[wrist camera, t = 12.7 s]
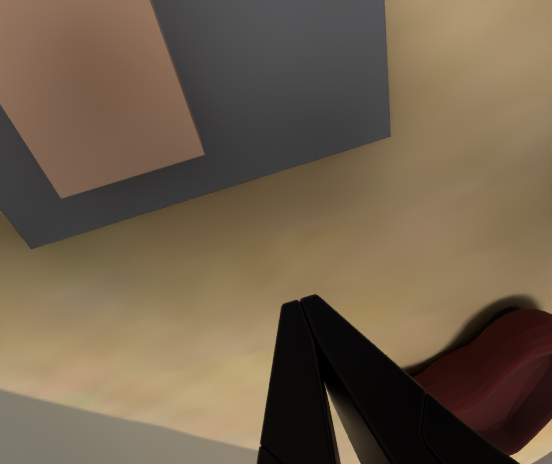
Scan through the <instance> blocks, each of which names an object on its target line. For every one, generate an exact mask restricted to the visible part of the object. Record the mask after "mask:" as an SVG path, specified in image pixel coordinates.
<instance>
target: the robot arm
mask: <svg viewBox="0 0 552 464" xmlns="http://www.w3.org/2000/svg"><path fill="white" fill-rule="evenodd" d="M325 386H326V388H325ZM326 389H327V391H328V394H329V396H330V398H331V401H332V403H333V405H334V407H335V409H336V412H337V414H338V416H339V418H340V420H341V422H342V424H343V427H344V429H345V431H346V433H347V435H348V437H349V439H350V442H351V444H352V446H353V448H354V450H355V452H356V455H357V457H358V459H359V461H360V463H361V464H520V463H518V462H517V461H516V460H514V459H513V458H511V457H510V456H509V455H507V454H506V453H504V452H503V451H502V450H500V449H499V448H497V447H496V446H495V445H493V444H492V443H491V442H489V441H488V440H487V439H485V438H484V437H483V436H481V435H480V434H478V433H477V432H476V431H474V430H473V429H472V428H470V427H469V426H468V425H467V424H465V423H464V422H463V421H462V420H460V419H459V418H458V417H457V416H456V415H454V414H453V413H452V412H451V411H450V410H448V409H447V408H446V407H445V406H444V405H443V404H441V403H440V402H439V401H438V400H437V399H436V398H435V397H433V396H432V395H431V394H430V393H427V394H426V390H425V389H424V388H423V387H422V386H421V385H420V384H418V383H417V382H416V381H415V380H414V379H413V378H412V377H410V376H409V375H408V374H407V373H406V372H405V371H404V370H402V369H401V368H400V367H399V366H398V365H397V364H396V363H395V362H393V361H392V360H391V359H390V358H389V357H388V356H387V355H385V354H384V353H383V352H382V351H381V350H380V349H379V348H377V347H376V346H375V345H374V344H373V343H372V342H371V341H370V340H368V339H367V338H366V337H365V336H364V335H363V334H362V333H360V332H359V331H358V330H357V329H356V328H355V327H354V326H352V325H351V324H350V323H349V322H348V321H347V320H346V319H345V318H343V317H342V316H341V315H340V314H339V313H338V312H337V311H335V310H334V309H333V308H332V307H331V306H330V305H329V304H327V303H326V302H325V301H324V300H323V299H322V298H321V297H319V296H318V295H316V294H314V295H310V296H307V297H304V298H301V299H300V301H299V300H294V301H291V302H287V303H284V304H283V305H282V306H281V312H280V318H279V324H278V331H277V337H276V344H275V350H274V356H273V363H272V369H271V376H270V382H269V389H268V395H267V401H266V408H265V414H264V421H263V427H262V433H261V440H260V445H261V446H260V447H259V451H258V458H257V464H341V462H340V457H339V452H338V447H337V442H336V436H335V431H334V426H333V421H332V416H331V411H330V406H329V401H328V396H327V392H326Z"/></svg>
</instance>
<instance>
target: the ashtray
mask: <svg viewBox="0 0 552 464" xmlns="http://www.w3.org/2000/svg"><path fill="white" fill-rule="evenodd" d="M413 379H414V380H415V381H416V382H417V383H418V384H420V385H421V386H422V387H423V388H424V389H425V390H426V394H427V393H430V394H431V395H432V396H433V397H435V398H436V399H437V400H438V401H439V402H440V403H441V404H443V405H444V406H445V407H446V408H447V409H448V410H450V411H451V412H452V413H453V414H454V415H456V416H457V417H458V418H459V419H460V420H462V421H463V422H464V423H465V424H467V425H468V426H469V427H470V428H472V429H473V430H474V431H476V432H477V433H478V434H480V435H481V436H483V437H484V438H485V439H487V440H488V441H489V442H491V443H492V444H493V445H495V446H496V447H497V448H499V449H500V450H502V451H503V452H504V453H506V454H507V455H509V456H510V455H513V454H515V453H517V452H518V451H520V450H521V449H522V448H523V447H524V446H525V445H527V444H528V443H529V442H530V441H531V440H532V439H533V438H534V437H535V436H536V435H537V434H538V433H539V432H540V431H541V430H542V429H543V428H544V427H545V426H546V424H547V423H548V422H549V421H550V420H551V419H552V314H550V313H547V312H545V311H541V310H537V309H521V308H520V307H517V306H515V307H509V308H506V309H504V310H502V311H500V312H499V313H497V314H496V315H495V316H494V317H493V318H492V319H491V320H490V322H489V324H488V327H487V328H486V329H485V330H484V331H483V332H482V333H481V334H480V335H479V336H478V337H477V338H476V339H475V340H474V341H472V342H471V343H469V344H468V345H465V346H463V347H461V348H459V349H456V350H454V351H452V352H449V353H447V354H445V355H444V356H442V357H440V358H439V359H437V360H436V361H435V362H433V363H432V364H431V365H430V366H428V367H427V368H426V369H425V370H424V371H422V372H421V373H420V374H419V375H417V376H415V377H413Z"/></svg>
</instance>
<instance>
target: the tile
mask: <svg viewBox="0 0 552 464" xmlns="http://www.w3.org/2000/svg"><path fill="white" fill-rule="evenodd" d="M0 104H1V106H2V108H3V109H4V111H5V112H6V114H7V115H8V117H9V118H10V120H11V122H12V123H13V125H14V126H15V128H16V129H17V131H18V132H19V134H20V136H21V137H22V139H23V140H24V142H25V143H26V145H27V146H28V148H29V150H30V151H31V153H32V154H33V156H34V157H35V159H36V160H37V162H38V163H39V165H40V167H41V168H42V170H43V171H44V173H45V174H46V176H47V177H48V179H49V181H50V182H51V184H52V185H53V187H54V188H55V190H56V191H57V193H58V195H59V196H60V198H61V199H62V198H65V197H68V196H72V195H75V194H78V193H81V192H85V191H88V190H91V189H94V188H98V187H101V186H104V185H107V184H111V183H114V182H117V181H121V180H124V179H127V178H130V177H134V176H137V175H140V174H143V173H147V172H150V171H153V170H156V169H160V168H163V167H166V166H170V165H173V164H176V163H179V162H183V161H186V160H189V159H192V158H196V157H199V156H202V155H205V154H204V149H203V145H202V140H201V137H200V134H199V132H198V129H197V126H196V123H195V120H194V117H193V115H192V112H191V109H190V106H189V103H188V100H187V98H186V95H185V92H184V89H183V86H182V83H181V81H180V78H179V75H178V72H177V69H176V66H175V64H174V61H173V58H172V55H171V52H170V50H169V47H168V44H167V41H166V38H165V35H164V33H163V30H162V27H161V24H160V21H159V18H158V16H157V13H156V10H155V7H154V4H153V1H152V0H0Z"/></svg>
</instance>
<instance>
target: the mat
mask: <svg viewBox="0 0 552 464" xmlns="http://www.w3.org/2000/svg"><path fill="white" fill-rule="evenodd" d="M152 1H153V4H154V7H155V10H156V13H157V16H158V18H159V21H160V24H161V27H162V30H163V33H164V35H165V38H166V41H167V44H168V47H169V50H170V52H171V55H172V58H173V61H174V64H175V66H176V69H177V72H178V75H179V78H180V81H181V83H182V86H183V89H184V92H185V95H186V98H187V100H188V103H189V106H190V109H191V112H192V115H193V117H194V120H195V123H196V126H197V129H198V132H199V134H200V137H201V140H202V145H203V149H204V154H205V155H202V156H199V157H196V158H192V159H189V160H186V161H183V162H179V163H176V164H173V165H170V166H166V167H163V168H160V169H156V170H153V171H150V172H147V173H143V174H140V175H137V176H134V177H130V178H127V179H124V180H121V181H117V182H114V183H111V184H107V185H104V186H101V187H98V188H94V189H91V190H88V191H85V192H81V193H78V194H75V195H72V196H68V197H65V198H62V199H61V198H60V196H59V195H58V193H57V191H56V190H55V188H54V187H53V185H52V184H51V182H50V181H49V179H48V177H47V176H46V174H45V173H44V171H43V170H42V168H41V167H40V165H39V163H38V162H37V160H36V159H35V157H34V156H33V154H32V153H31V151H30V150H29V148H28V146H27V145H26V143H25V142H24V140H23V139H22V137H21V136H20V134H19V132H18V131H17V129H16V128H15V126H14V125H13V123H12V122H11V120H10V118H9V117H8V115H7V114H6V112H5V111H4V109H3V108H2V106H1V104H0V209H1V211H2V212H3V213H4V215H5V216H6V217H7V218H8V220H9V221H10V222H11V224H12V225H13V226H14V228H15V229H16V230H17V231H18V233H19V234H20V235H21V237H22V238H23V239H24V240H25V242H26V243H27V244H28V246H29V247H30V248H31V249H33V248H36V247H39V246H43V245H46V244H49V243H52V242H55V241H58V240H62V239H65V238H68V237H71V236H74V235H78V234H81V233H84V232H87V231H90V230H94V229H97V228H100V227H103V226H106V225H110V224H113V223H116V222H119V221H122V220H126V219H129V218H132V217H135V216H138V215H141V214H145V213H148V212H151V211H154V210H157V209H161V208H164V207H167V206H170V205H173V204H177V203H180V202H183V201H186V200H189V199H193V198H196V197H199V196H202V195H205V194H209V193H212V192H215V191H218V190H221V189H225V188H228V187H231V186H234V185H237V184H240V183H244V182H247V181H250V180H253V179H256V178H260V177H263V176H266V175H269V174H272V173H276V172H279V171H282V170H285V169H288V168H292V167H295V166H298V165H301V164H304V163H308V162H311V161H314V160H317V159H320V158H323V157H327V156H330V155H333V154H336V153H339V152H343V151H346V150H349V149H352V148H355V147H359V146H362V145H365V144H368V143H371V142H375V141H378V140H381V139H384V138H387V137H391V133H390V111H389V89H388V67H387V45H386V23H385V1H384V0H152Z"/></svg>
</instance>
